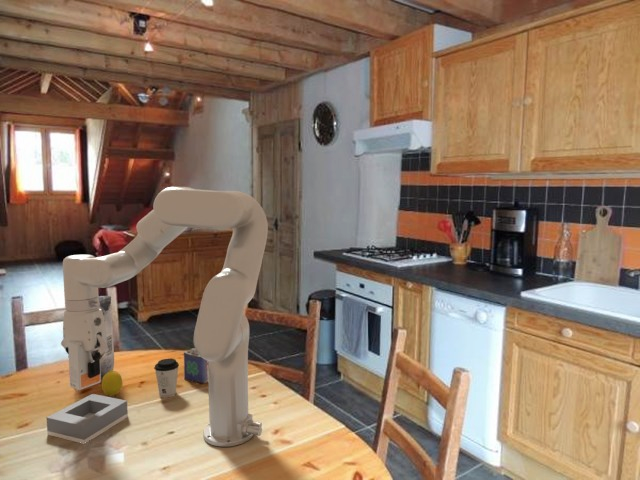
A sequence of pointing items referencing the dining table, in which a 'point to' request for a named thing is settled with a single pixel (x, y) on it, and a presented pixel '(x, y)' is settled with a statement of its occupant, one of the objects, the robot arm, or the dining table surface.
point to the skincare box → (80, 367)
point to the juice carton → (107, 335)
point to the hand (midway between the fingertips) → (85, 373)
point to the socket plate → (87, 418)
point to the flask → (195, 367)
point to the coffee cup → (167, 377)
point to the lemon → (111, 383)
